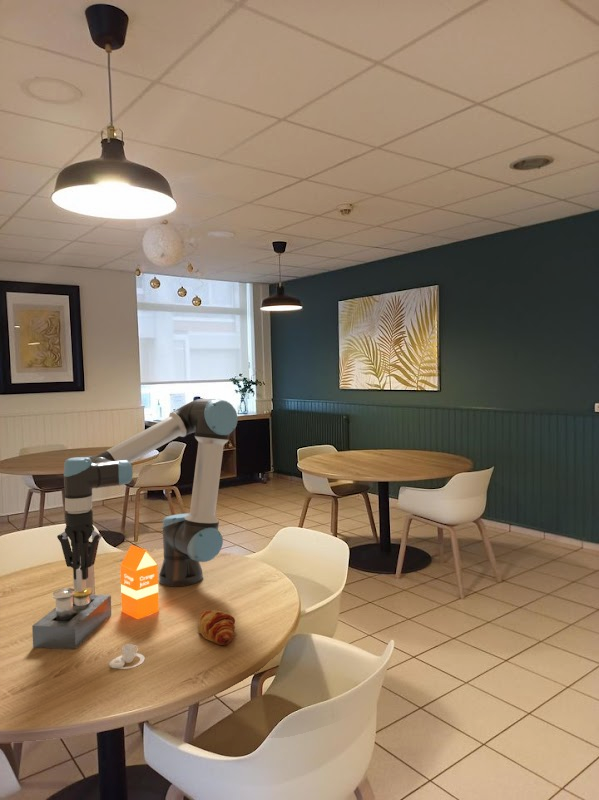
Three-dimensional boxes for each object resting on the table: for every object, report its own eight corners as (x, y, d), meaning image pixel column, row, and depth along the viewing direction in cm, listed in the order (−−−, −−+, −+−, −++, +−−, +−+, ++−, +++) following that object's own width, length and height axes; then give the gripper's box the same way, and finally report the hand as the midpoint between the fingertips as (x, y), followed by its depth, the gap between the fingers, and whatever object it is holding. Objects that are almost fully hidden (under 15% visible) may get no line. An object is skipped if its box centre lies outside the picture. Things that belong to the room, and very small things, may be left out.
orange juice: (136, 619, 170) (134, 553, 170) (121, 611, 176) (119, 547, 176) (159, 611, 176) (157, 547, 175) (143, 603, 182) (141, 541, 181)
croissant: (197, 632, 169) (184, 611, 167) (226, 611, 172) (213, 590, 171) (219, 663, 150) (204, 639, 148) (250, 638, 153) (236, 614, 151)
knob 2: (96, 613, 171) (95, 587, 171) (87, 621, 166) (86, 594, 165) (78, 613, 172) (77, 587, 171) (69, 621, 166) (68, 594, 166)
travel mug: (89, 598, 187) (87, 538, 186) (98, 604, 182) (96, 542, 181) (70, 604, 182) (68, 542, 182) (79, 610, 178) (77, 546, 177)
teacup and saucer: (110, 674, 140) (109, 658, 140) (107, 659, 147) (106, 644, 147) (147, 666, 143) (146, 650, 143) (142, 652, 151) (141, 637, 150)
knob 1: (79, 616, 161) (78, 588, 161) (69, 624, 156) (68, 595, 155) (60, 615, 162) (59, 587, 161) (50, 624, 156) (48, 595, 156)
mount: (111, 614, 174) (110, 595, 174) (75, 649, 152) (74, 627, 152) (73, 613, 175) (73, 594, 175) (33, 647, 154) (32, 625, 153)
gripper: (106, 507, 170) (108, 585, 171) (64, 507, 172) (66, 584, 173) (94, 513, 163) (96, 595, 164) (50, 513, 164) (53, 594, 165)
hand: (81, 589), depth 168 cm, fingers closed
